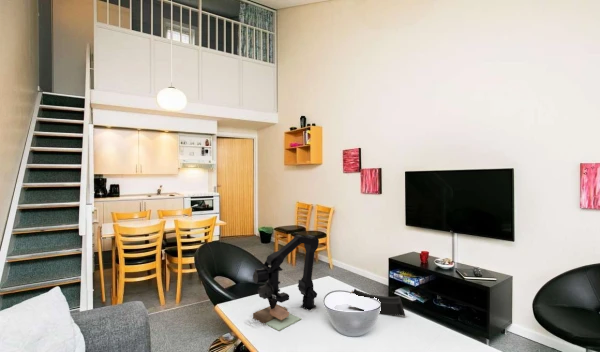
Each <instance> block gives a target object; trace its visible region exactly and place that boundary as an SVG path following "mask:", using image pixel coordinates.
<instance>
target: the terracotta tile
mask: <svg viewBox="0 0 600 352" xmlns="http://www.w3.org/2000/svg"><path fill="white" fill-rule="evenodd" d="M289 313H290V311H288V310H287V311H286V310H284V309H282V308H280V307H279V306H277V307H275V308H273V309H271V310H270V314H271V315H272V316H274V317H276V318H278V319H280V320H283V319H284V318H286V317H288V316H289Z"/></svg>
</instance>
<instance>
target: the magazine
mask: <svg viewBox="0 0 600 352" xmlns="http://www.w3.org/2000/svg"><path fill="white" fill-rule="evenodd" d="M351 293H355V294H356V295H358V296H364V297H370V298H374V297H375V298H377V300H378V299H379V301H380V302H381V311H380V314H379V315H383V316H403V317H404V316H406V313H405V310H404V307H403V306H404V305H403V302H402V299H401V296H400V295H399V296H385V295H376V294H372V293H371V294H370V293H366V292H363V291H362V290H357V289H356V288H354V290H351V292H350V294H351Z"/></svg>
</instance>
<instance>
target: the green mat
mask: <svg viewBox="0 0 600 352" xmlns="http://www.w3.org/2000/svg"><path fill="white" fill-rule="evenodd" d="M301 320H302V318H301V317H299V316H297V315H295V314H293V313H290V312H289V316H288V317H286V318H284V319H283V320H280V319H278V318H275V319H273V320H271V321H269V322H267V323H265V324H264V325H266V326H267V327H270V328H272V329H274V330H276V331H278V332H281V331H282V330H284V329H286V328H288V327H290V326H292V325H295V323H297V322H299V321H301Z"/></svg>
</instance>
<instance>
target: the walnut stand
mask: <svg viewBox="0 0 600 352" xmlns="http://www.w3.org/2000/svg"><path fill="white" fill-rule="evenodd" d="M277 306H279V307H280V308H282V309H284V310H286V311H288V308H287V307H284V306H282V305H280V304H278V303H277V304H276V306H275V307H277ZM270 310H271V307H270V305H269V306H267V307H264V308H262V309H259V310H257V311H255V312H253V313H252V319H254V320H256V321H258V322H260V323H262V324H263V325H266V324H265V323H267V322H269V321H271V320H273V319H275V318H276V317H274V316H272V315H271V314H270Z"/></svg>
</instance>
